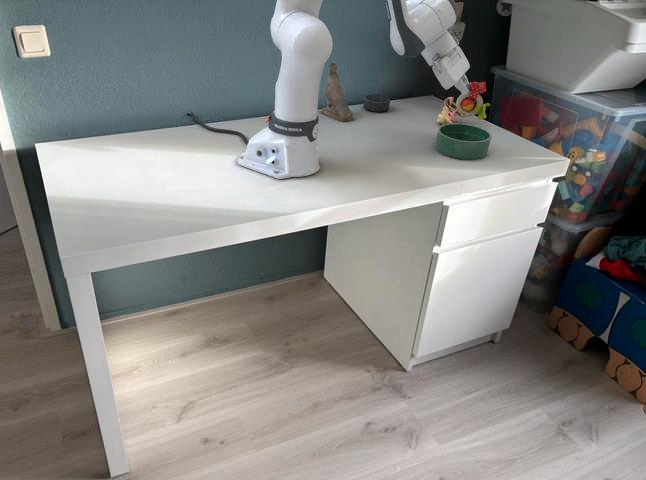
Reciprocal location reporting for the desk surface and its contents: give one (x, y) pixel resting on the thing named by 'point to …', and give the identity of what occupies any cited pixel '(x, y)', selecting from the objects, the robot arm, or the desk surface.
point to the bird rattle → (467, 103)
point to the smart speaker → (376, 103)
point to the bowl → (463, 141)
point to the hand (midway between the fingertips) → (468, 92)
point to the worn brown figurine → (336, 98)
